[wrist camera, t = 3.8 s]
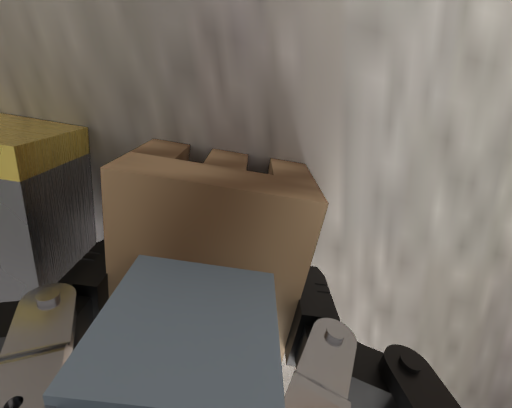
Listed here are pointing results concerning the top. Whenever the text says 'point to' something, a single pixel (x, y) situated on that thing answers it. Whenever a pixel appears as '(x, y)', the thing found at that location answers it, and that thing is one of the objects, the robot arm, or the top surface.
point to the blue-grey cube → (178, 342)
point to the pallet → (213, 216)
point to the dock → (42, 202)
